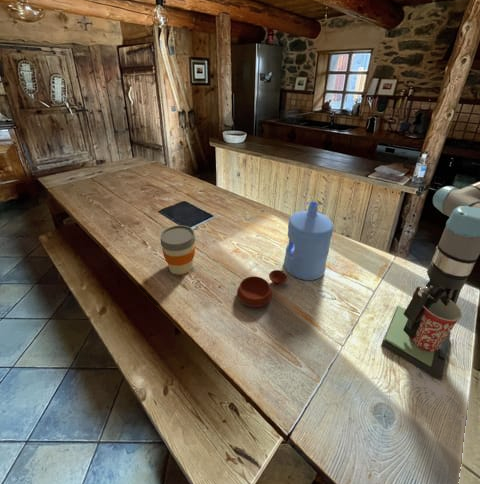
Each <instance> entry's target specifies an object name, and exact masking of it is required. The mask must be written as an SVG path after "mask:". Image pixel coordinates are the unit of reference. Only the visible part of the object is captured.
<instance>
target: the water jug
mask: <svg viewBox="0 0 480 484" xmlns="http://www.w3.org/2000/svg"><path fill="white" fill-rule="evenodd" d="M318 207H319V203H318V202H317V201H309V203H308V209H307V210H301V211H297V212H294V213H292V215H291V216H289V220H288V224H287V238H288V243H287V246H286V248H285V254H284V259H283V265H284V267H285V269H286V271H287V273H289V274H290V275H292V276H293V277H295V278H297V279H300V280H304V281H313V280H318V279H320V278H321V277H322V276H324V274H325V272H326V266H327V260H328V256H329V253H330V252H329V251H330V244H331V240H332V236H333V232H334V223H333V221H332V220H331V218H329V217H328V216H326V215H325V214H324V213H323V214H322V213H319V212H318V210H319V208H318Z"/></svg>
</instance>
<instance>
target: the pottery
mask: <svg viewBox="0 0 480 484" xmlns="http://www.w3.org/2000/svg"><path fill="white" fill-rule="evenodd" d="M268 277H269V279H270V281H271V282H272V284H273V285H274V286H277V287H279V286H281V285H282V284H283V283H285V282H286V281H287V280H288V275H287V274H286V273H285V271H283V270H279V269H273V270H272V271H270V272H269V274H268ZM236 295H237V298H238V300H239V301H240V302H241V303H243V305H245V306H247V307H251V308H259V307H263V306H266V305H267V304H268V303H270V301H271V300H272V298H273V297H272V296H273V290H272V288H271V286H270V284H269V283H268V281H267V280H266V279H265V278H263V277H260V276H253V275H252V276H248V277H246V278H244V279H243V280H241V282H240V284H239V286H238V287H237V290H236Z"/></svg>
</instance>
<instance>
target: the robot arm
mask: <svg viewBox="0 0 480 484" xmlns="http://www.w3.org/2000/svg"><path fill="white" fill-rule="evenodd" d="M432 204H433V207H435V208H436V209H437V210H438V211H439V212H441V213H442V214H443V215H445V216H447V217H448V219H447V220H446V223H445V227H444V230H443V232H442V235H441V237H440V240H439V242H438V243H437V245H436V247H435V249H436V250H435V252H434V254H433V256H432V260H430V263H429V265H428V267H427V270H426V274H427V276H428V279H429V281H428V282H427V283H426V285H425V287H423V288H422V287H421V286H420V285H419V286H417V287H416V288H415V290H414V292H415V294H414V293H413V294H414V296H413V295H412V298H411V299H410V301H409V303H408V304H407V306H406V308H405V309H406V310H405V312H404V314H403V315H404V316H405V317H406V318H407V319H408V320H407V322H406V325H405V327H404V330H403V331H404V332H405V333H406V334H407V335H408V336H409V337H410V338H411V339H413V338H414V336H415V334H416V332H417V330H418V327H419V325H420V323H421V321H420V319H421V318H422V316H423V314H424V311H425V310H424V308H423V306H425V308H426V309H429V308H430V307H431V305H432V304H433V303H437V302H438V300H439V299H440V300H441V301H442V302H443V304H444V305H445V306H447V304H448V303H449V301H450V300H451V301H453V302H454V303H455V304H456V305H457V302H458V299H459V296H460V294H461V291H462V289H463V287H464V285H465V284H466V282H467V280H468V279H469V276H470V274H471V273H472V271H473V269H474V266H475V265H476V262H477V260H478V258H479V256H480V180H479V181H477V182H474V183H471V184H469V185H468V186H465V187H462V188H458V187H456V186H452V185H446V186H443V187H441V188H439V189H438V190H437V191H436V192H435V193H434V195H433V197H432ZM429 295H430V296H432V297H433V298H434V299H433V298H432V297H430V296H429Z"/></svg>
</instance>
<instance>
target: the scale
mask: <svg viewBox="0 0 480 484" xmlns="http://www.w3.org/2000/svg"><path fill="white" fill-rule="evenodd" d="M405 310H406V308H405V307H402V306H400V305H397V306H396V309H395V310H394V313H393V316H392V317H391V320H390V323H389V325H388V328H387V330H386V332H385V335H384V337H383V339H382V342H381V345H380V346H382V347H383V348H385V349H387V350H389V352H392V353H393V354H395V355H396V356H398V357H400V358H402V359H403V360H405V361H407V362H408V363H410V364H412V365H413V366H415V367H417V368H418V369H420V370H422V371H423V372H425V373H426V374H429V375H430V376H432V377H433V378H435V379H437V380H438V381H441V380H442V378H443V377H444V372H445V366H446V360H447V356H448V355H447V354H448V349H449V344H450V339H451V332H450V333H449V334H448V336H447V337H446V338H445V340H444V341H443V343H442V344H441V346H440V347H439V349H438V350H437V351H435V352H428V351H425V350H423V349H421V348H419V347H418V346H416V345H415V344H414V343H413V342H412V341H411V339H410V337H409V336H408V335H407V334H406V333H405V332H404V331H403V330H404V327H405V325H406V322H407V320H408V319H407V318H406V317H405V316H404V315H403V314H404V312H405Z"/></svg>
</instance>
